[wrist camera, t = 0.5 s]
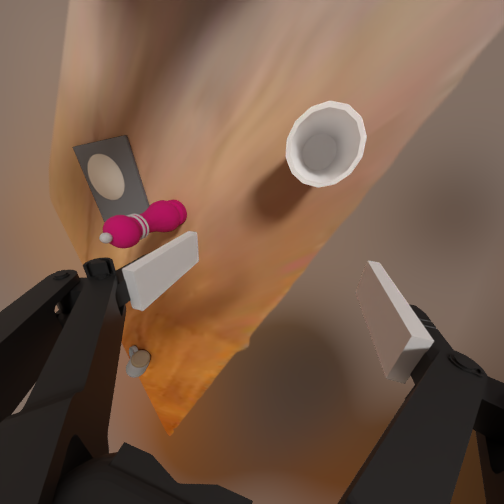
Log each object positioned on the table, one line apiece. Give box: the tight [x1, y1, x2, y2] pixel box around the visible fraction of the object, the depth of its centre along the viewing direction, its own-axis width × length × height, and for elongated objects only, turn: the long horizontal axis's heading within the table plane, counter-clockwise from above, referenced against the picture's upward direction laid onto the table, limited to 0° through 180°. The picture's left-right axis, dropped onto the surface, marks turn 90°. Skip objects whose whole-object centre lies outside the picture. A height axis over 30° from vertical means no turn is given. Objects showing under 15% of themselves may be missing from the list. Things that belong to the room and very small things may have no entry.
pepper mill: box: [99, 200, 187, 248], centre depth 40 cm, size 7×7×20 cm
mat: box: [73, 135, 149, 222], centre depth 50 cm, size 20×17×1 cm
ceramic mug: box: [126, 346, 150, 377], centre depth 78 cm, size 11×8×8 cm
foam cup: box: [286, 101, 367, 187], centre depth 30 cm, size 10×9×13 cm
